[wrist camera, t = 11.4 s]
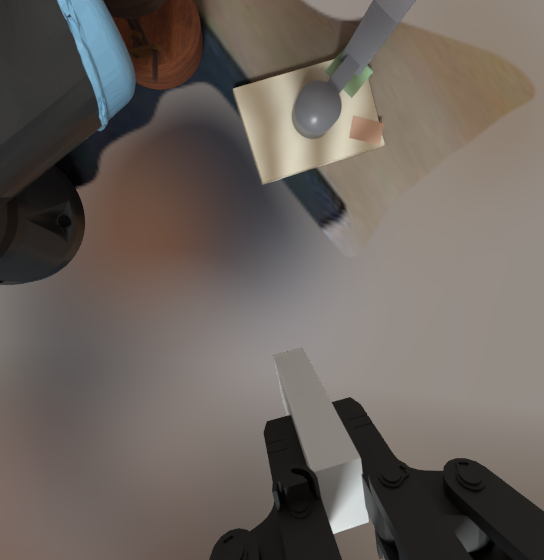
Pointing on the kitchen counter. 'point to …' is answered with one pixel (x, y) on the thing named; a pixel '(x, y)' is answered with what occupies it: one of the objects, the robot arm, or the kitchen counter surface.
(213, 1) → the kitchen counter surface
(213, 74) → the kitchen counter surface
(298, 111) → the grey block with ball
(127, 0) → the music box
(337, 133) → the board
